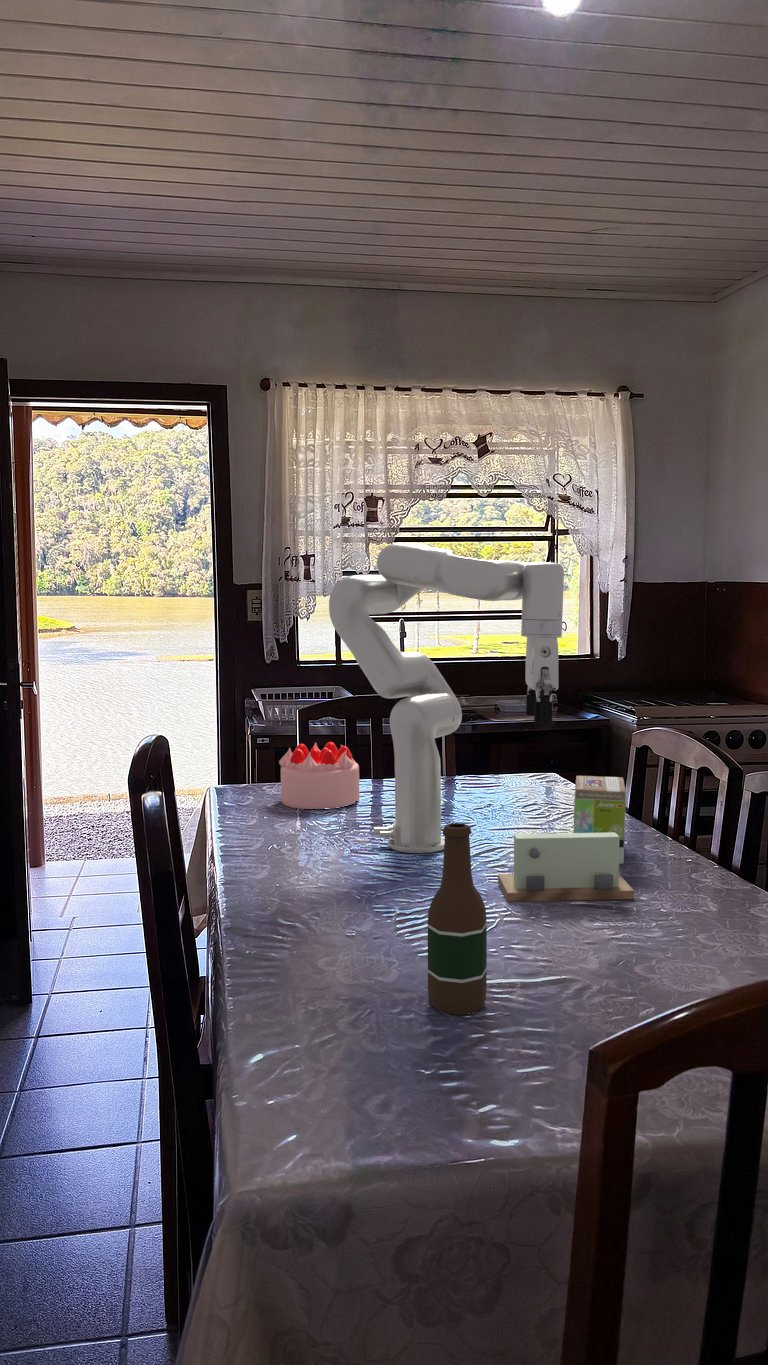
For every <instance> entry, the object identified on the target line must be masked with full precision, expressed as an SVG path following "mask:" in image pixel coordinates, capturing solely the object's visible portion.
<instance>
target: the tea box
mask: <svg viewBox="0 0 768 1365" xmlns="http://www.w3.org/2000/svg"><path fill="white" fill-rule="evenodd" d="M574 785H575V786H574V798H573V800H574V801H573V803H574V804H573V832H572V833H609V832H615V833H616V834H617V835H618V836H619V865H623V864H624V862H625V834H626V831H625V829H626V807H627V806H626V805H627V804H626V802H627V801H626V800H627V799H626V798H627V791H626V785H625V780H624V777H620V776H596V775H594V776H593V775H576V777H575V784H574Z"/></svg>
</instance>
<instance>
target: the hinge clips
mask: <svg viewBox="0 0 768 1365" xmlns="http://www.w3.org/2000/svg"><path fill="white" fill-rule="evenodd" d="M595 890H613V875H595ZM526 891H527V892H530V891H544V876H526Z"/></svg>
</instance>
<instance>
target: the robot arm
mask: <svg viewBox="0 0 768 1365" xmlns="http://www.w3.org/2000/svg"><path fill="white" fill-rule="evenodd" d="M376 567H377V571H378V573H379V574H354V575H349V576H346V577H344V578H341V579H340V580H339V581H337V582H336V583H335V584H334V586H333V587H332V590H331V592H330V594H329V600H328V611H329V618H330V621H331V624H332V626H333V628H334V630H335V631H336V633H337V634H338V636H339V637H340V639H341V640H342V641H343V643H344V644H345V646H346V647H347V648H348V650H349V651H350V653H351V654H352V656H353V657H354V660H356V663H357V664H358V666H359V667H360V669H361V670H362V672H363V674H364V675H365V677H366V678H367V679H368V681H369V683H370V686H372V688H373V689H374V691H375V692H376V693H377V695H379V696H380V697H382V698H384V699H398V698H399V699H400V698H403V699H400V700H399V701H397V703H396V704H395V705H394V706H393V707H392V709H391V712H390V716H389V728H390V732H391V738H392V743H393V744H392V745H393V753H394V754H393V756H394V796H395V798H394V809H395V812H394V814H395V818H394V819H395V820H394V821H393V823H392V824H393V825H390V824H389V825H388V826H385V827H384V826H374V827H373V836H374V837H379V838H380V839H382V838H383V839H386V838H389V839H388V840H387V841H388V842H387V844H388V847H389V848H390V849H392V850H393V851H396V852H399V853H400V852H401V853H408V854H431V853H436V852H440V851H444V843H445V836H443V835H442V802H441V801H442V794H441V793H442V792H441V791H442V790H441V789H442V782H441V781H442V780H441V779H442V775H441V774H442V773H441V756H440V753H439V752H440V751H439V750H438V747H437V743H436V739H438V738H441V737H445V736H448V735H451V734H452V733H454V732H455V731H457V730H458V728H459V727H460V725H461V724H462V718H463V712H462V707H461V704H460V702H459V700H458V698H457V696H456V694H455V693H454V692H453V690H452V689H451V687H450V686H449V684H448V683H447V681H446V679H445V678H444V676H443V674H441V672H440V670H439V669H438V668H437V666H436V664H435V663H434V661H432V660H431V659H430V658H429V657H428V656H426V655H425V654H423V653H421V652H419V651H415V650H414V651H413V650H412V651H408V650H407V651H400V650H399V649H398V648H397V647H396V646H395V644H394V643H393V641H392V640H391V638H390V636H389V634H388V633H387V632H386V631H385V629H383V627H382V626H380V625H379V624H378V623H377V622H376V621H375V620H373V619H372V617H370V615H385V614H390V613H393V612H394V611H396V610H398V609H400V608H401V607H402V606H404V605H405V604H406V603H407V602H408V601H410V600H411V599H412V598H413V597H415V595H417V594H418V593H419V592H421V590H423V589H424V590H429V591H435V592H441V593H443V594H449V595H451V596H452V595H453V596H456V597H461V598H462V597H463V598H467V599H473V600H479V601H486V602H496V601H499V602H500V601H501V602H502V601H519V600H520V601H521V600H522V601H521V626H520V627H521V629H520V630H521V632H520V636H521V637H523V638H525V637H526V644H525V645H526V647H525V683H526V684H525V685H527V690H526V692H527V693H526V700H525V701H526V702H525V704H526V706H525V707H526V708H525V714H526V716H534V718H533V722H534V723H535V724H541V725H542V724H543V725H548V724H549V725H551V724H552V723H553V704H554V703H553V691H557V690H558V689H559V643H558V639H559V638H562V637H563V636H562V635H563V612H564V611H563V608H564V607H563V606H564V582H565V570H564V567H563V565H561V564H560V563H559V562H558V563H557V562H539V561H537V562H526V561H525V562H523V561H519V560H518V561H517V560H488V559H478V558H472V557H468V556H467V557H465V556H459V555H456V553H455V552H454V551H453V550H451V549H449V548H440V547H432V546H429V545H426V544H423V543H420V542H419V543H416V542H415V543H413V542H395V543H391V544H388V545H386V546H384V547H383V548H382V549H381V550H380V552H379V554H378V556H377V559H376Z"/></svg>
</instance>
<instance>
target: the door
mask: <svg viewBox="0 0 768 1365" xmlns="http://www.w3.org/2000/svg"><path fill="white" fill-rule="evenodd" d="M513 874H514V885H515V887H516V889H526V876H544V888H591V887H595V875H613V887H619V875H620V864H619V836H618V835H617V834H616V833H615V832H609V833H573V832H569V833H568V832H567V833H565V832H562V833H554V832H553V833H513Z"/></svg>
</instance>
